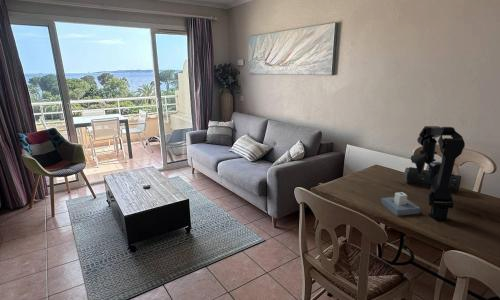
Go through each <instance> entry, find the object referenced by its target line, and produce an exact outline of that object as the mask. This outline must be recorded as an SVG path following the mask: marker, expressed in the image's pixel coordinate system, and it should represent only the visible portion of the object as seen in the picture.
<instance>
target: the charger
mask: <svg viewBox="0 0 500 300" xmlns="http://www.w3.org/2000/svg"><path fill="white" fill-rule="evenodd" d="M394 197H395V198H394V203H395V204H396V205H398V206H404V205H406V203H407V200H408V194H406V193H404V192H403V191H401V192H394Z"/></svg>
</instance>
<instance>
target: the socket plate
mask: <svg viewBox="0 0 500 300" xmlns="http://www.w3.org/2000/svg"><path fill="white" fill-rule="evenodd" d="M394 198H395V196H390V197H381V198H380V199H381V201H380V203H381V205H382V206H384V207H385V208H386V209H388V210H389V211H390V212H392V213H393V214H394V215H395V216H398V217H399V216H407V215H409V216H410V215H419V214H420V213H421V207H419V206H418V205H416V204H415V203H413V201H412V202H411V200H409V199H407V203H406V205H404V206H398V205H396V204H395V203H394Z"/></svg>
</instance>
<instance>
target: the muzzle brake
mask: <svg viewBox="0 0 500 300" xmlns="http://www.w3.org/2000/svg"><path fill="white" fill-rule="evenodd" d="M438 175H439V172H438V173H437V175H436V176H435V177H434V178H433V180H430V170H429V169H422V171H421V174H418V171H417V167H413V166H409V167H405V169H404V172H403V181H406V182H408V183H410V184H411V183H412V184H415V185H417V186H427V187H431V185H432V184H436V183H437V179H438ZM461 183H462V175H458V174H453V173H452V175H451V179H450V183H449V189H450V191H451V192H453V193H458V192H460V188H461Z"/></svg>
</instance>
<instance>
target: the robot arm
mask: <svg viewBox="0 0 500 300" xmlns="http://www.w3.org/2000/svg"><path fill="white" fill-rule="evenodd" d="M445 136H450V137H445ZM438 137H439V138H438ZM443 137H445V138H443ZM436 138H438V141H437V140H436ZM417 143H418V144H419V145H421V147H422V150H420V151H419V153H416V154H412V155H411V156H410V160H411V164H415V168H417V171H418V174H421V171H422V169H423V168H424V166H425V164H427V165H428V169H427V170H429V171H430V180H433V178H434V177H435V176H436V175H437V173H438V172H439V175H438V179H437V183H436V184H432V185H431V186H430V190H429V192H428V194H427V195H428V206H430V207H431V209H430V213H427V215H428V216H429V217H430V218H432V219H433V220H435V221H436V222H442V221H443V222H444V221H450V218H449V217H448V212H449V209H453V208H454V200H453V196H452V191H450V189H449V183H450V179H451V175H452V174H453V170H454V166H455V161H456V159H457V158H458V157H459V156H460V155H462V153H463V150H464V149H465V146H466V145H465V144H466V143H465V140H464V138H463V136H462V135H461V134H460V133H458V132H457V131H456V130H455V127H453V126H441V127H440V126H438V125H436V126H435V125H425V126H424V127H423V128H422V129H421V131H420V133H419V135H418V137H417ZM437 143H438V145H439V150H440V152H441V154H442V159H441V161H440V162H439V161H437V162H436V158H435V155H437V152H438V151H436V148H437V147H436V146H437ZM423 170H424V169H423Z"/></svg>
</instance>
